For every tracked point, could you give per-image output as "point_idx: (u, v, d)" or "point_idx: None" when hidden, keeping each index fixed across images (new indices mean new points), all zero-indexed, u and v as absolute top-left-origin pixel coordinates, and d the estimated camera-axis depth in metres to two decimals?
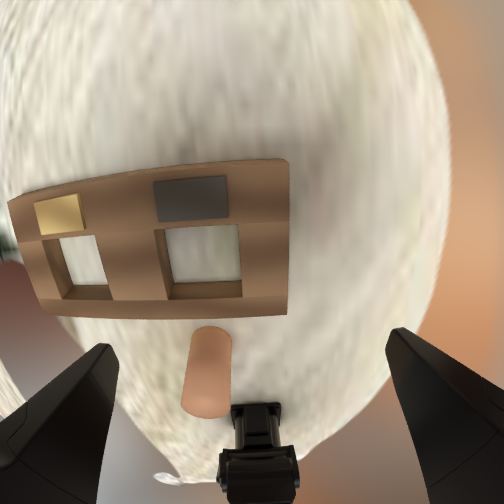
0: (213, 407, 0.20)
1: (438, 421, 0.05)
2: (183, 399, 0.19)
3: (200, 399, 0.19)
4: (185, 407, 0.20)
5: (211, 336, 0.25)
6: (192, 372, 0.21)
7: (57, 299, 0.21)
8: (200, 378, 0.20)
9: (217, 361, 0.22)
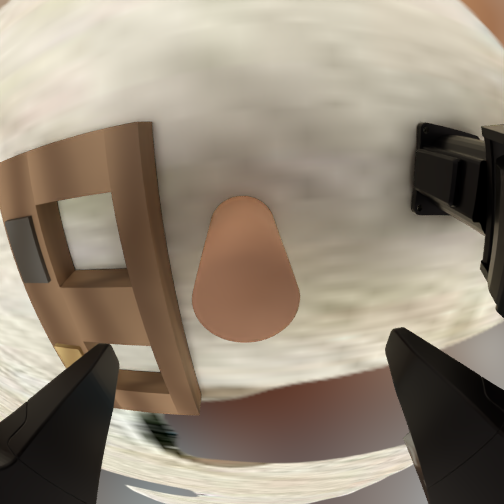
0: (246, 289, 0.10)
1: (438, 421, 0.05)
2: (219, 335, 0.11)
3: (215, 309, 0.10)
4: (253, 336, 0.11)
5: None
6: None
7: (171, 398, 0.21)
8: None
9: (206, 240, 0.13)
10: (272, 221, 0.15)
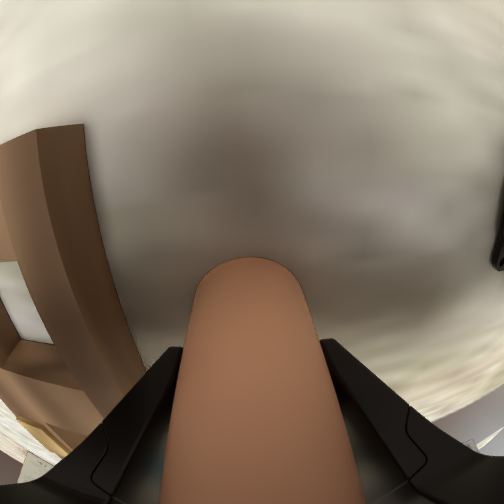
0: None
1: (355, 448, 0.05)
2: None
3: None
4: None
5: None
6: None
7: None
8: None
9: (179, 382, 0.06)
10: (309, 324, 0.07)
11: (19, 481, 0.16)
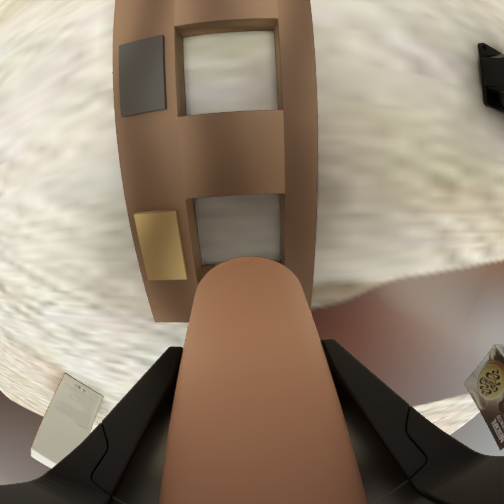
0: None
1: (355, 448, 0.05)
2: None
3: None
4: None
5: None
6: None
7: None
8: None
9: (178, 382, 0.06)
10: (310, 324, 0.07)
11: (49, 408, 0.23)
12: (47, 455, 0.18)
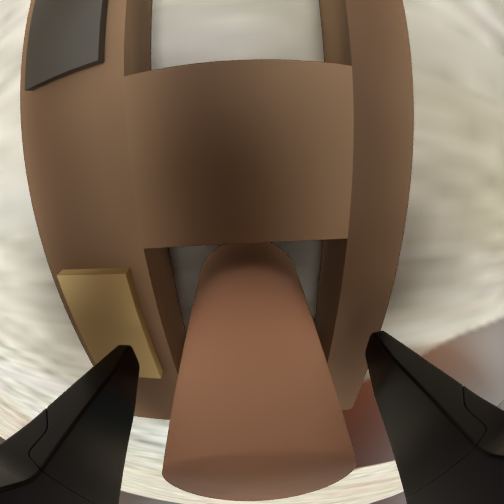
0: (262, 476, 0.04)
1: (415, 430, 0.05)
2: (216, 497, 0.05)
3: (206, 486, 0.04)
4: (269, 497, 0.05)
5: None
6: None
7: None
8: None
9: (187, 339, 0.07)
10: (300, 293, 0.09)
11: None
12: None
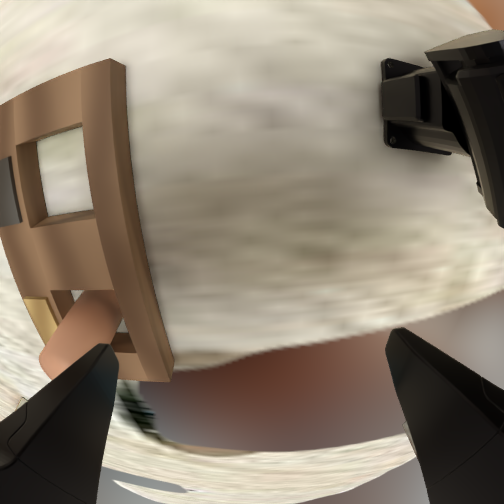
0: (60, 367, 0.13)
1: (438, 421, 0.05)
2: None
3: (53, 373, 0.13)
4: None
5: None
6: None
7: (139, 358, 0.20)
8: None
9: None
10: (103, 311, 0.18)
11: None
12: None
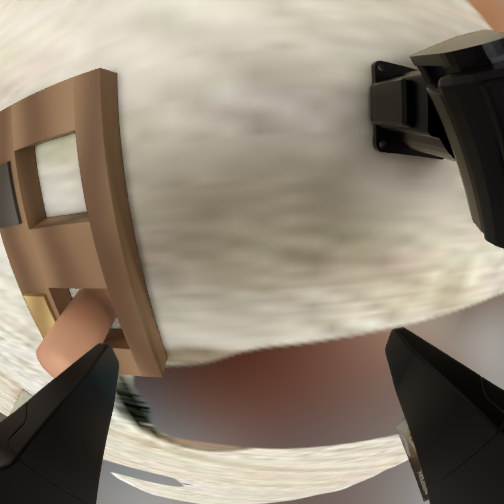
0: (55, 361, 0.14)
1: (438, 421, 0.05)
2: None
3: (49, 367, 0.14)
4: None
5: None
6: None
7: (132, 354, 0.21)
8: None
9: None
10: (97, 308, 0.18)
11: None
12: None
